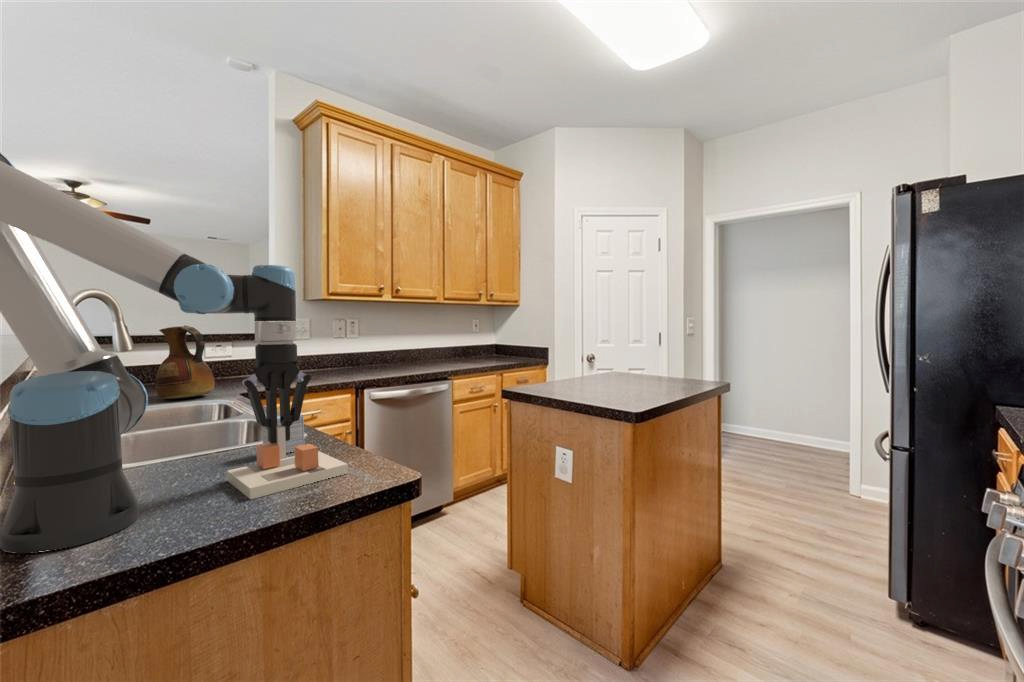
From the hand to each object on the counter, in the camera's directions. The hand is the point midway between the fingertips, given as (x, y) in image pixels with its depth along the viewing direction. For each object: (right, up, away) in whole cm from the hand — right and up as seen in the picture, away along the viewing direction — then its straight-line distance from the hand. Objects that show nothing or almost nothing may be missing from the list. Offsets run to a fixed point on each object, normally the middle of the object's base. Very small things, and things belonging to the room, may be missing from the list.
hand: (279, 457), depth 93 cm
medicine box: (-7, -3, +15) cm, 17 cm away
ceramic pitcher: (-86, 0, +94) cm, 128 cm away
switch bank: (+3, -3, -2) cm, 5 cm away
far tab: (-1, -1, -2) cm, 3 cm away
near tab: (+7, -1, -3) cm, 8 cm away
